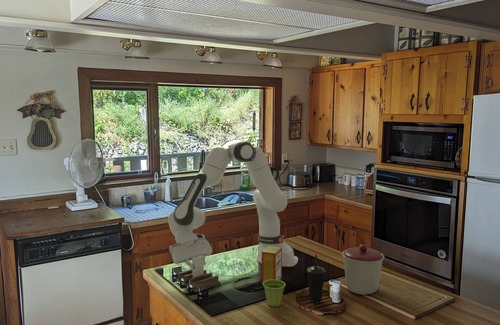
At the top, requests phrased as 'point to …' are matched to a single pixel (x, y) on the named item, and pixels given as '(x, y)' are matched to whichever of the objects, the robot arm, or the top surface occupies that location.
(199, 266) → the clay tile
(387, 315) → the top surface
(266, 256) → the baking soda box
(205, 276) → the rack
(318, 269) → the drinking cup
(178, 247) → the robot arm
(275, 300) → the plant pot
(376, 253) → the canister
